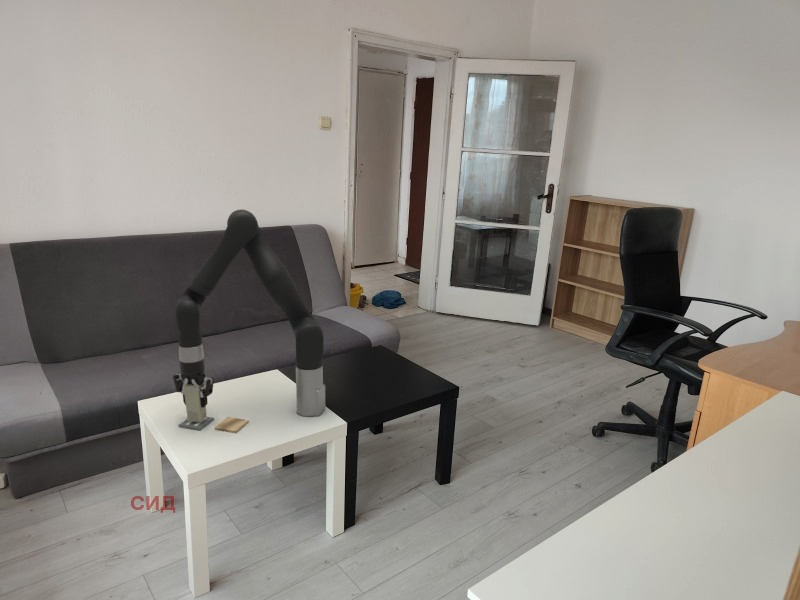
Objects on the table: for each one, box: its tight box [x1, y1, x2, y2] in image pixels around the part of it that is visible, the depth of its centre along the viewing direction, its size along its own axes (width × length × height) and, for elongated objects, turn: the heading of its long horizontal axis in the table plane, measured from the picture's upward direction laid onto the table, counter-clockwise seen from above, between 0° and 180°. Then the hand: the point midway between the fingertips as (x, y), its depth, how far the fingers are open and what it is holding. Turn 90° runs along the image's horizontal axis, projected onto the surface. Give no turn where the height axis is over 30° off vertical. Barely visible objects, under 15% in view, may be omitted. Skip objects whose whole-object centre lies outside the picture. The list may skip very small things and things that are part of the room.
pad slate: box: [178, 415, 215, 432], centre depth 186 cm, size 8×8×1 cm
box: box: [184, 384, 208, 422], centre depth 184 cm, size 5×4×13 cm
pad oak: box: [213, 416, 250, 434], centre depth 185 cm, size 8×8×1 cm
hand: (195, 405), depth 185 cm, fingers closed on box, 5 cm apart
